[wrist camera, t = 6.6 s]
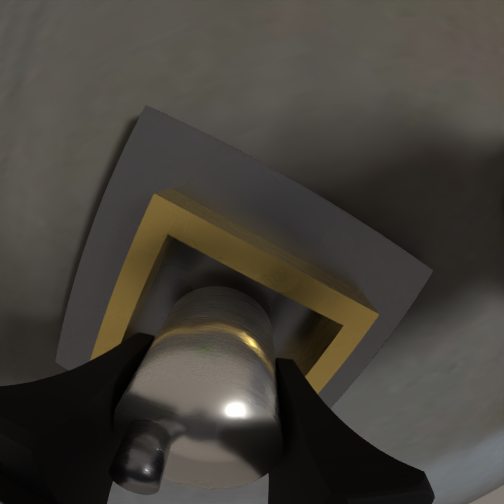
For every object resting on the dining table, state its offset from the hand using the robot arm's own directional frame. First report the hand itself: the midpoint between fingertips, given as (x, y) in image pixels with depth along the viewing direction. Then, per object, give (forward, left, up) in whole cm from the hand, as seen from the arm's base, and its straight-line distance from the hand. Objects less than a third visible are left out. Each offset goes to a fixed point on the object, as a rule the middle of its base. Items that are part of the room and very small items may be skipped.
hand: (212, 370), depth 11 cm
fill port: (0, 0, -4) cm, 4 cm away
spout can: (0, 0, -2) cm, 2 cm away
